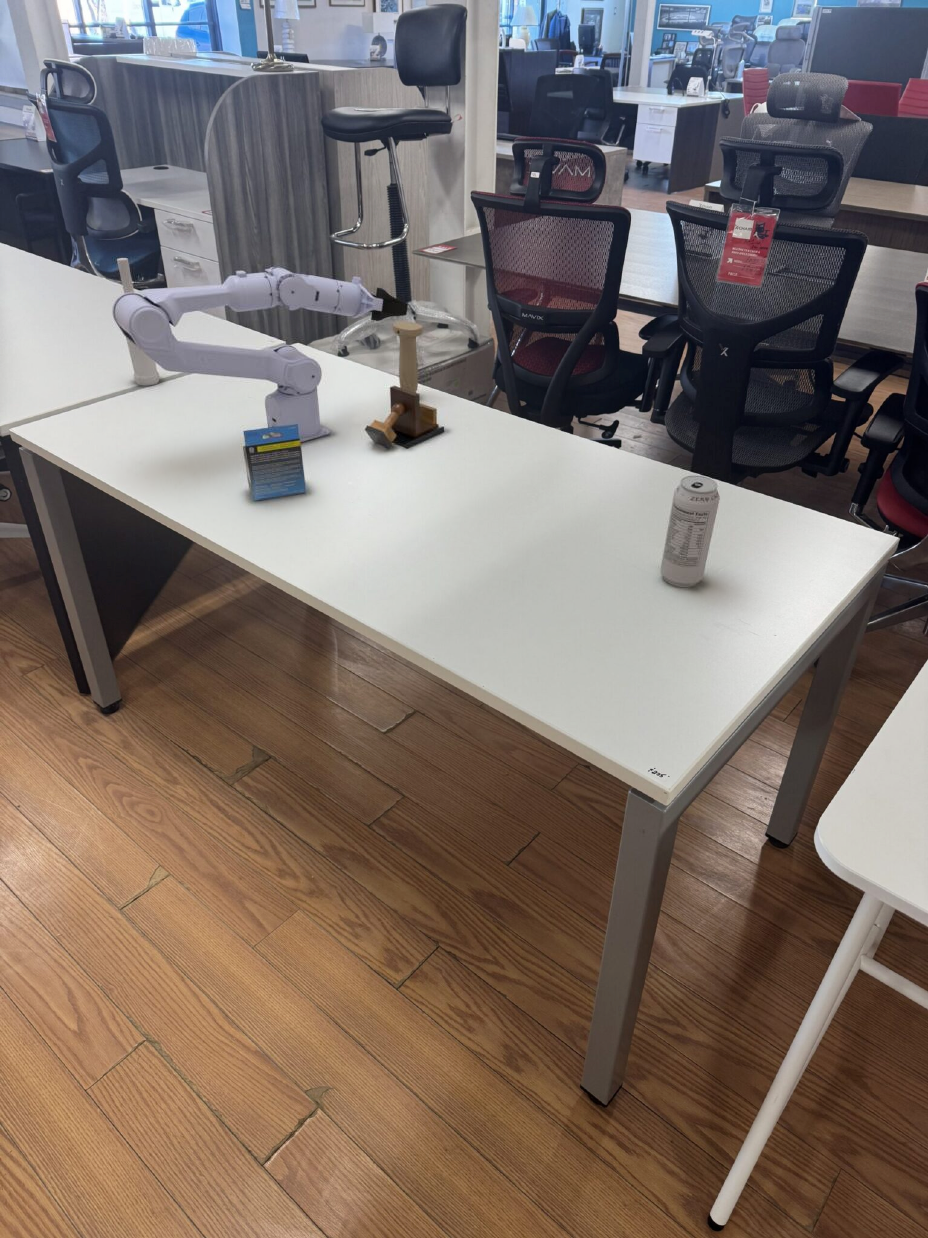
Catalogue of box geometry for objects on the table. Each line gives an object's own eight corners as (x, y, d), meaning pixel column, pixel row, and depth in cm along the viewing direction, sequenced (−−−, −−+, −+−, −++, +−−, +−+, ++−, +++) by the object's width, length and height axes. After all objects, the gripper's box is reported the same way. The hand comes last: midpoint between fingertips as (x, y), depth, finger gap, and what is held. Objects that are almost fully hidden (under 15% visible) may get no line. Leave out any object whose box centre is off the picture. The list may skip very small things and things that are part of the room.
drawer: (415, 418, 166) (414, 377, 161) (439, 427, 163) (439, 385, 158) (391, 428, 162) (389, 387, 157) (415, 437, 158) (415, 395, 154)
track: (414, 420, 167) (413, 415, 167) (444, 431, 163) (444, 426, 162) (376, 436, 161) (376, 431, 160) (407, 448, 156) (407, 443, 156)
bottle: (156, 386, 180) (130, 262, 166) (131, 385, 180) (104, 261, 166) (163, 377, 185) (139, 256, 170) (139, 377, 185) (113, 255, 170)
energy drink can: (709, 577, 122) (730, 483, 113) (688, 594, 118) (708, 498, 109) (673, 562, 125) (690, 469, 116) (651, 578, 121) (667, 483, 113)
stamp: (395, 434, 162) (394, 399, 158) (411, 440, 159) (410, 404, 155) (365, 447, 156) (363, 411, 152) (380, 453, 154) (379, 416, 150)
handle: (410, 405, 174) (408, 331, 165) (390, 396, 177) (387, 324, 169) (428, 399, 176) (427, 326, 168) (407, 391, 180) (405, 319, 171)
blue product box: (301, 483, 144) (294, 414, 137) (306, 493, 141) (299, 423, 134) (249, 491, 141) (238, 421, 134) (253, 501, 138) (242, 430, 131)
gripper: (354, 275, 145) (419, 287, 153) (314, 269, 155) (377, 281, 163) (349, 318, 147) (413, 328, 155) (311, 310, 158) (373, 319, 166)
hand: (395, 307), depth 160 cm, fingers open, 7 cm apart
